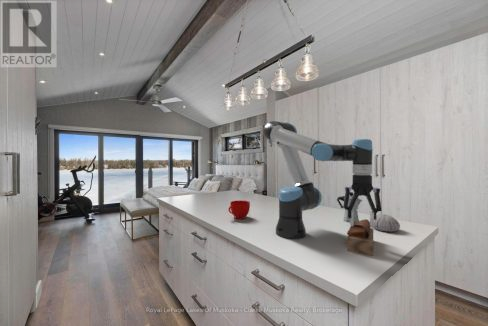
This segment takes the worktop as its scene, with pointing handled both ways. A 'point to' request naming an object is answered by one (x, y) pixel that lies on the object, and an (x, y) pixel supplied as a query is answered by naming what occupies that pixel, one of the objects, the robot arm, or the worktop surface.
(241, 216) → the ceramic cup
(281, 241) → the worktop surface
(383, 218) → the sea urchin shell
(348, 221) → the coffee maker
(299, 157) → the robot arm
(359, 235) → the sunglasses case
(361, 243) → the walnut block
